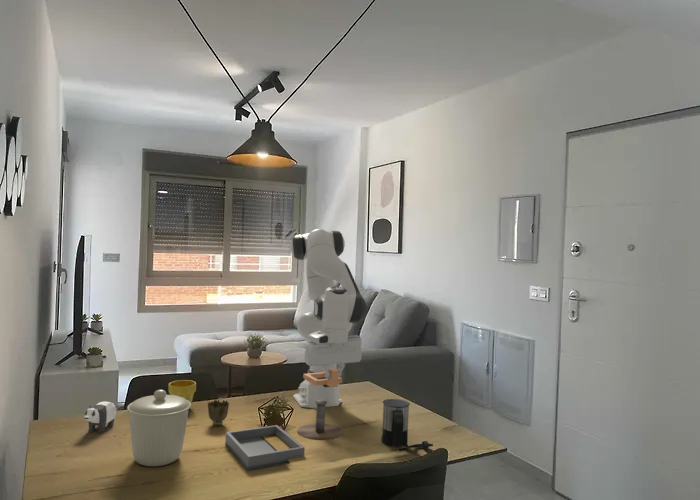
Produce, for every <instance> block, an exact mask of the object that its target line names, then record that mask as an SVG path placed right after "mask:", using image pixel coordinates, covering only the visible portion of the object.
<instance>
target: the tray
mask: <svg viewBox="0 0 700 500" xmlns="http://www.w3.org/2000/svg"><path fill="white" fill-rule="evenodd" d="M271 435H276V436H277V437H278V438H279V439H281V440H282V441H283V443H286V445H288V446H289V448H287V449H280V450H277V449H276V448H275V447H274V446H273V445H272V444H271V443H270V442H269V441H268V440H266V438H264V437H263V436H271ZM225 446H226V447H227V448H228V450H230V452H231V453H232V454H233V455H234V456H235V457H236V458H237V460H238V461H239V462H240V463H241V464H242V466H243V467H244V468H245V469H246V470H247V471H252V470H258V469H265V468H269V467H270V468H271V467H276V466H281V465H287V464H291V462H290V461H289V460H288V459H294V458H299V457H300V458H301V457H304V456H305V446H303V445H302V444H301V443H300V442H299V441H297V440H296V439H295V438H294V437H293V436H292V435H290V434H289V433H288V432H286V430H284V429H283V428H282V427H280V426H279V425H278V424H275V425H268V426H260V427H252V428H245V429H239V430H231V431H226V432H225Z"/></svg>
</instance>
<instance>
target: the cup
mask: <svg viewBox="0 0 700 500" xmlns="http://www.w3.org/2000/svg"><path fill="white" fill-rule="evenodd" d="M229 405H230V402H228V400H222V401H220V400H219V399H218V400H217V399H214V400H211V401H208V402H207V411H208V412H207V413H208V417H209V418H208V419H210V420H211V421H212V425H213V426H215V427H218V426H219V427H220V426H222V425H223V424H224V420H225V419H226V418H227V416H228V414H229V407H230V406H229Z"/></svg>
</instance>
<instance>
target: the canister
mask: <svg viewBox="0 0 700 500" xmlns="http://www.w3.org/2000/svg"><path fill="white" fill-rule="evenodd" d="M190 407H192V404H191V403H190V402H189V401H188V400H186V399H184V398H182V397H180V396H175V395H170V394H167V392H166V390H164V389H157V390H155V391H154V392H153V395H147V396H142V397H140V398H137V399H135V400H134V401H133V402H131V403H129V404H128V405H127V407H126V410H127V412H128V414H129V426H130V437H131V439H130V440H131V448H132V455H133V458H134V460H135V462H136V463H138V464H139V465H141V466H146V467H162V466H166V465H169V464H171V463H174V462H175V461H176V460H178V459H179V457H180V456H181V454H182V452H183V446H184V440H185V434H186V429H187V422H188V416H189V408H190ZM190 409H191V408H190Z"/></svg>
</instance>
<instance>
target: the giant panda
mask: <svg viewBox="0 0 700 500" xmlns="http://www.w3.org/2000/svg"><path fill="white" fill-rule="evenodd" d="M116 415H117V410H116V406H115V404H114V403H113V402H110V401H100V402H98V403H97V404H96V405H94V406H92V405H89V407H88V408H87V409H86V411H85V412H84V416H83V417H84V418H83V419H84V421H86V422H88V430H87V433H94V432H95V431H96V426H97V427H98V430H97V433H98V434H102V433H104V432H105V428H112V427H113V426H114V423H115V419H116Z"/></svg>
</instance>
